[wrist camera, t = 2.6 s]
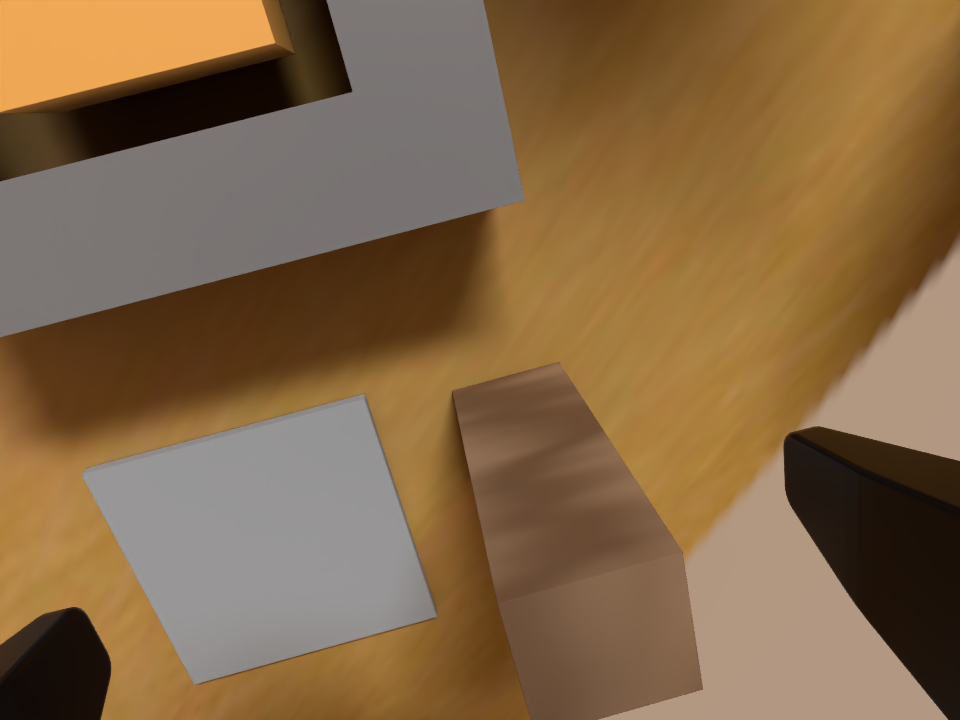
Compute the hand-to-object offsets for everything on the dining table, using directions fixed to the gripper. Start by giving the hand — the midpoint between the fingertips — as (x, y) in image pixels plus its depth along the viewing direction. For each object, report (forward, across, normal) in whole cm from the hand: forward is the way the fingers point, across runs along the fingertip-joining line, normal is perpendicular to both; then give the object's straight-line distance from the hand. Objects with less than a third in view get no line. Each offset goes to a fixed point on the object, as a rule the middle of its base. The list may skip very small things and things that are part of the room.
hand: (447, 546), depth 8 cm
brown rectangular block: (+13, -2, +5) cm, 14 cm away
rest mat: (+13, +7, +8) cm, 16 cm away
